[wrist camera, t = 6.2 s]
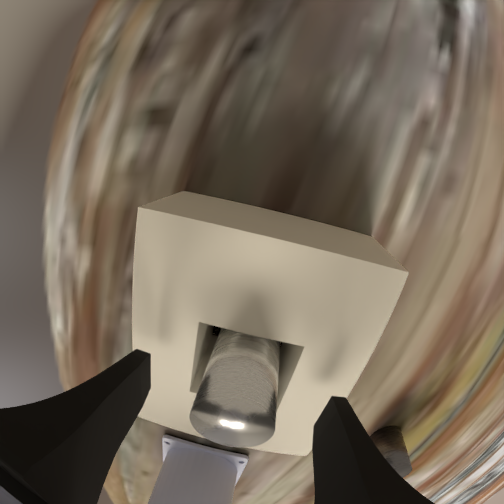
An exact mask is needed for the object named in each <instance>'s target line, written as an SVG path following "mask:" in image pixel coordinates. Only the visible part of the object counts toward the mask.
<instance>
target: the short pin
mask: <svg viewBox="0 0 504 504" xmlns="http://www.w3.org/2000/svg"><path fill="white" fill-rule="evenodd" d="M370 438H371V440H372V441H373V443H374V444H375V446H376V447H377V448H378V450H379V451H380V452H381V454H382V455H383V456H384V458H385V459H386V460H387V461H388V463H389V464H390V465H391V466H392V467H393V468H394V469H395V471H396V472H397V473H398V474H399V475H400V476H401V477H402V478H403V477H405V476H406V475H408V474H409V473H410V472H411V471H412V467H411V463H410V459H409V456H408V453H407V449H406V446H405V442H404V439H403V436H402V433H401V430H400V428H399V427H397V426H389V427H385V428H382V429H380V430H378V431H376V432H374V433H373V434H372V435H371V436H370Z"/></svg>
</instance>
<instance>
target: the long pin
mask: <svg viewBox="0 0 504 504" xmlns="http://www.w3.org/2000/svg"><path fill="white" fill-rule="evenodd" d="M279 356H280V341H276V340H271V339H267V338H262V337H258V336H253V335H249V334H245V333H241V332H237V331H233V330H229V329H225V328H221V330H220V333H219V335H218V338H217V341H216V343H215V346H214V349H213V351H212V354H211V357H210V360H209V362H208V365H207V368H206V370H205V373H204V376H203V379H202V381H201V384H200V387H199V389H198V392H197V395H196V398H195V400H194V403H193V406H192V408H191V411H190V415H189V418H190V422H191V424H192V426H193V428H194V429H195V430H196V431H197V432H198V433H199V434H201V435H202V436H203V437H205V438H206V439H208V440H210V441H212V442H215V443H218V444H221V445H224V446H229V447H240V448H242V447H253V446H257V445H260V444H263V443H265V442H266V441H268V440H269V439H270V438H271V437H272V436H273V434H274V432H275V425H276V410H277V394H278V376H279Z"/></svg>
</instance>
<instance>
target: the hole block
mask: <svg viewBox="0 0 504 504" xmlns="http://www.w3.org/2000/svg"><path fill="white" fill-rule="evenodd" d="M408 274H409V272H408V271H407V270H406V269H405V268H404V267H403V266H402V265H401V264H400V263H399V262H398V261H397V260H396V259H395V258H394V257H393V256H392V255H391V254H390V253H389V252H388V251H387V250H386V249H385V248H384V247H383V246H381V245H380V244H379V243H378V242H377V241H376V240H375V239H374V238H373V237H372V236H368V235H365V234H361V233H358V232H354V231H351V230H347V229H343V228H340V227H336V226H332V225H328V224H325V223H321V222H317V221H313V220H309V219H305V218H301V217H297V216H293V215H289V214H285V213H281V212H277V211H273V210H269V209H265V208H260V207H256V206H252V205H247V204H243V203H239V202H234V201H230V200H225V199H221V198H216V197H211V196H206V195H202V194H197V193H192V192H187V191H182V192H179V193H176V194H173V195H170V196H167V197H164V198H161V199H159V200H156V201H153V202H150V203H148V204H145V205H142V206H139V207H138V214H137V224H136V235H135V248H134V264H133V288H132V343H133V351H134V350H135V349H139V350H142V351H145V352H147V353H150V354H151V389H150V391H149V394H148V396H147V398H146V401H145V403H144V405H143V407H142V409H141V411H140V413H139V414H138V417H141V418H143V419H146V420H148V421H151V422H154V423H157V424H160V425H163V426H166V427H169V428H172V429H175V430H178V431H181V432H184V433H188V434H191V435H195V436H198V437H202V438H205V437H203V436H202V435H201V434H199V433H198V432H197V431H196V430H195V429H194V428H193V426H192V424H191V422H190V418H189V415H190V411H191V408H192V406H193V403H194V400H195V398H196V395H197V392H198V389H199V387H200V384H201V381H202V379H203V376H204V373H205V370H206V368H207V365H208V362H209V360H210V357H211V354H212V351H213V349H214V346H215V343H216V341H217V338H218V336H216V335H212V334H213V328H214V326H217V327H221V328H225V329H229V330H233V331H237V332H241V333H245V334H249V335H253V336H258V337H262V338H267V339H271V340H276V341H280V342H282V345H281V348H280V356H279V376H278V394H277V410H276V425H275V432H274V434H273V436H272V437H271V438H270V439H269V440H268V441H266V442H265V443H263V444H260V445H257V446H253V447H245V448H251V449H256V450H262V451H268V452H275V453H283V454H291V455H300V456H307V455H308V453H309V452H310V451H311V449H312V443H313V428H314V424H315V422H316V421H317V419H318V418H319V416H320V414H321V413H322V411H323V410H324V408H325V406H326V405H327V403H328V401H329V400H330V398H331V396H338V397H346V398H347V397H348V395H349V393H350V392H351V390H352V388H353V387H354V385H355V383H356V382H357V380H358V378H359V376H360V375H361V373H362V371H363V369H364V368H365V366H366V364H367V362H368V360H369V358H370V357H371V355H372V353H373V351H374V349H375V347H376V345H377V343H378V341H379V339H380V337H381V335H382V333H383V331H384V329H385V327H386V325H387V323H388V321H389V319H390V316H391V314H392V312H393V310H394V308H395V305H396V303H397V301H398V298H399V296H400V294H401V291H402V289H403V286H404V284H405V282H406V279H407V277H408Z"/></svg>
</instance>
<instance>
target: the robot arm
mask: <svg viewBox="0 0 504 504" xmlns="http://www.w3.org/2000/svg"><path fill="white" fill-rule="evenodd" d="M150 389H151V354H150V353H147V352H145V351H142V350H139V349H135V350H134V351H132V352H131V353H129V354H128V355H127V356H125V357H124V358H122V359H121V360H119V361H118V362H116V363H115V364H114V365H112V366H111V367H109V368H107V369H106V370H104V371H103V372H101V373H100V374H98V375H96V376H95V377H93V378H91V379H89V380H87V381H86V382H84V383H82V384H80V385H78V386H76V387H74V388H72V389H70V390H68V391H66V392H63V393H61V394H59V395H56V396H53V397H50V398H48V399H45V400H42V401H38V402H35V403H31V404H27V405H22V406H17V407H11V408H3V409H0V504H97V502H98V499H99V496H100V493H101V490H102V487H103V484H104V482H105V479H106V476H107V474H108V471H109V469H110V466H111V464H112V462H113V459H114V457H115V454H116V452H117V450H118V449H119V447H120V445H121V443H122V441H123V440H124V438H125V436H126V435H127V433H128V431H129V430H130V428H131V426H132V425H133V423H134V421H135V419H136V418H137V416H138V414H139V413H140V411H141V409H142V407H143V405H144V403H145V401H146V398H147V396H148V394H149V391H150ZM162 447H163V465H162V468H161V470H160V473H159V476H158V478H157V481H156V483H155V486H154V489H153V491H152V494H151V496H150V499H149V502H148V504H232V500H233V494H234V489H235V485H236V483H237V481H238V480H239V478H240V476H241V474H242V472H243V470H244V468H245V466H246V464H247V462H248V459H249V457H248V456H247V455H243V454H238V453H233V452H228V451H224V450H220V449H215V448H211V447H207V446H204V445H200V444H196V443H193V442H189V441H186V440H182V439H179V438H176V437H173V436H170V435H163V438H162ZM312 451H313V467H314V483H315V503H314V504H435V503H433V502H431V501H430V500H429V499H427V498H426V497H424V496H423V495H422V494H420V493H419V492H418V491H417V490H415V489H414V488H413V487H412V486H411V485H410V484H409V483H407V482H406V481H405V480H404V479H403V478H402V477H401V476H400V475H399V474H398V473H397V472H396V471H395V469H394V468H393V467H392V466H391V465H390V464H389V463H388V461H387V460H386V459H385V458H384V456H383V455H382V454H381V452H380V451H379V450H378V448H377V447H376V446H375V444H374V443H373V441H372V440H371V438H370V437H369V435H368V434H367V432H366V430H365V429H364V427H363V426H362V424H361V422H360V421H359V419H358V417H357V416H356V414H355V412H354V411H353V409H352V407H351V405H350V404H349V402H348V400H347V399H346V397H338V396H331V398H330V400H329V401H328V403H327V405H326V406H325V408H324V410H323V411H322V413H321V414H320V416H319V418H318V419H317V421H316V422H315V424H314V428H313V443H312Z"/></svg>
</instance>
